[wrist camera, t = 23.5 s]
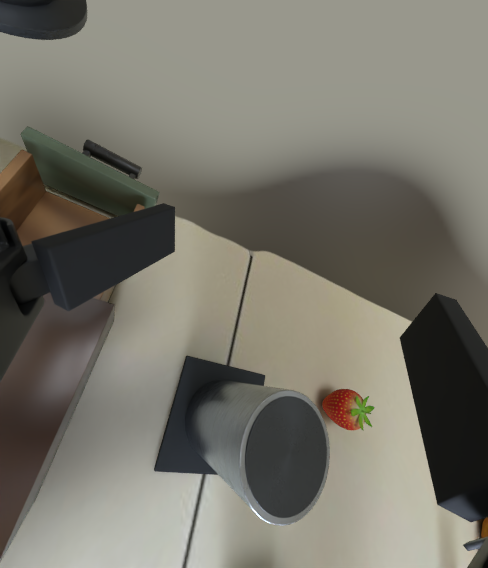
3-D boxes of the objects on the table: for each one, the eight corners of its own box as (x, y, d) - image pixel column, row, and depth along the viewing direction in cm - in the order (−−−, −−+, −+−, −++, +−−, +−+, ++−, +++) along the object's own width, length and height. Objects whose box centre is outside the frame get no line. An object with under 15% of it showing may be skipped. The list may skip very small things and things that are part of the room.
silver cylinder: (169, 424, 26) (215, 473, 15) (218, 365, 31) (282, 367, 19) (218, 473, 27) (299, 556, 16) (259, 409, 32) (344, 436, 20)
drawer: (63, 151, 29) (51, 100, 23) (161, 199, 34) (171, 166, 28) (-49, 294, 21) (-108, 269, 15) (101, 332, 25) (98, 323, 20)
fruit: (312, 386, 38) (355, 392, 31) (335, 386, 40) (379, 391, 33) (315, 424, 36) (361, 438, 29) (338, 421, 38) (386, 434, 32)
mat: (153, 469, 25) (154, 471, 24) (186, 355, 30) (187, 355, 29) (249, 474, 29) (251, 476, 29) (263, 375, 34) (265, 375, 34)
